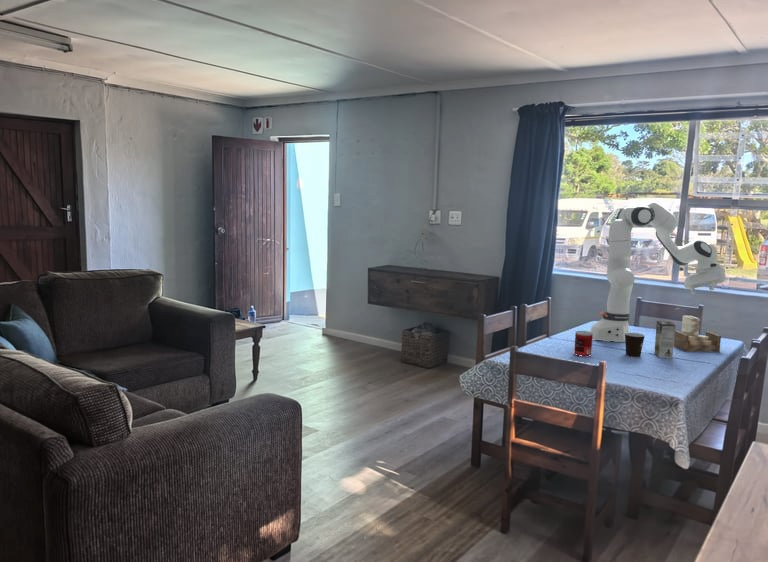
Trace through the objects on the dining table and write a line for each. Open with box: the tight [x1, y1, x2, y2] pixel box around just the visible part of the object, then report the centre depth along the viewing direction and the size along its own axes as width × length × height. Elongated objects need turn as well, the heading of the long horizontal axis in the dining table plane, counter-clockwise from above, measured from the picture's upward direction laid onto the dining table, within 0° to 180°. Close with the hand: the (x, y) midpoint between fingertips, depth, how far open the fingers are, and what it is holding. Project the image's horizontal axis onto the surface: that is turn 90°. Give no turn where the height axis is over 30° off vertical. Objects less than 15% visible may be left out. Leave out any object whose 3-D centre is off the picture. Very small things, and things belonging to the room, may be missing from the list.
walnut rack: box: [674, 330, 722, 352], centre depth 288 cm, size 18×10×8 cm, turn 90°
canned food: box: [573, 330, 593, 356], centre depth 272 cm, size 8×8×11 cm
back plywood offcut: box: [688, 335, 709, 340], centre depth 289 cm, size 11×2×6 cm, turn 90°
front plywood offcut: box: [688, 340, 712, 345], centre depth 286 cm, size 11×2×5 cm, turn 90°
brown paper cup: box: [624, 332, 645, 358], centre depth 274 cm, size 12×9×10 cm
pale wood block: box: [680, 315, 701, 336], centre depth 295 cm, size 4×8×15 cm, turn 0°
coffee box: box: [654, 320, 676, 359], centre depth 273 cm, size 9×6×16 cm
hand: (702, 291), depth 298 cm, fingers open, 8 cm apart
